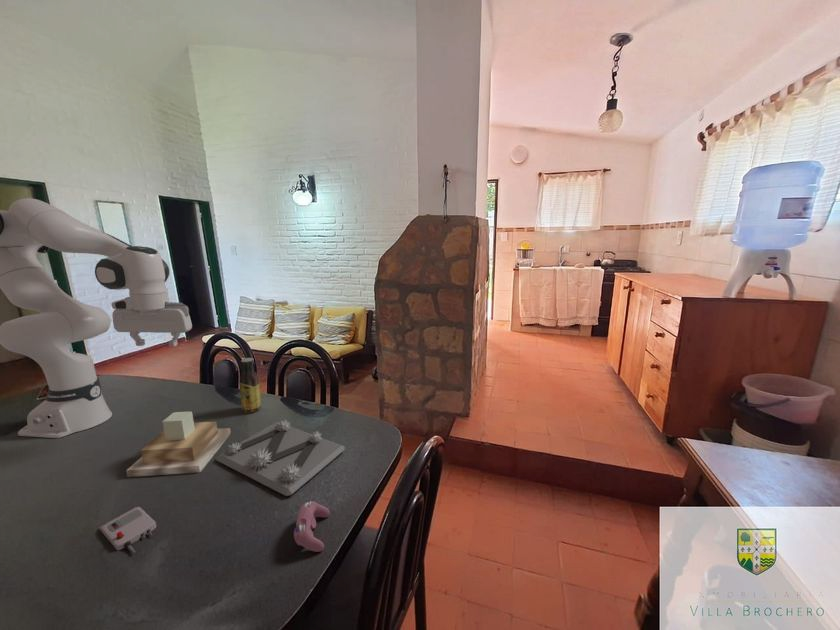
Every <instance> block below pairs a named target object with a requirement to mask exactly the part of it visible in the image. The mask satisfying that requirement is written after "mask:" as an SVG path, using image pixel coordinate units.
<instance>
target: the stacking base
mask: <svg viewBox="0 0 840 630" xmlns="http://www.w3.org/2000/svg"><path fill="white" fill-rule="evenodd" d="M217 424H218V423H217V421H202V422H201V421H200V422H194V427H195V430H194V431H193V432H192V433H191V434H190V435H189V436H188V437H187V438H186V439H185V440H169V441H166V438H165V433H164V430H163V431H161V432H160V433H159V434H158V435H157V436H155V438H153V439H152V440H151V441H150V442H149V443H148V444H146V446H144V447H143V448H141V449H140V453H141V457H139V459H137V460H136V461H135V462H134V463H133V464H132V465H131V466H130V467H128V468H127V469H126V471H125V472H126V476H127V478H131V477H133V478H134V477H147V476H149V477H150V476H163V475H177V474H178V475H180V474H194V473H201V472H202V471H203V470H204V468H205V467H206V466H207V465H208V463H209V462H210V461H211V459H212V458H213V457H214V455H215V454H216V453H217V452H218V450H219V449H220V448H221V447H222V445H223V444H224V443H225V442H226V440H227V439H228V438H229V436H230V435H231V428H230V427H229V428H228V427H226V428H225V427H223V428H218V425H217Z"/></svg>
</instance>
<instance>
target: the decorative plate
mask: <svg viewBox="0 0 840 630" xmlns="http://www.w3.org/2000/svg"><path fill="white" fill-rule="evenodd" d="M288 420H289V419H288ZM288 420H286V418H284V421H283V420H279V421H276V422H273V423H272V424H270V425H269V426H267V427H265V428H264V429H262V430H259V431H258V432H256V433H255V434H253V435H251V436H249V437H247V438H246V439H244V440H242V441H241V442H237V441H236V442H235V441H233V442H230V443H231V444H228V445H227V447H226V449H225V450H224V452H221V453H219V455H218V456H217V458H216V461H217V462H218V463H220V464H223V465H224V466H227V467H228V468H231V469H232V470H234V471H236V472H237V473H238V472H239V473H241V474H242V475H244V476H246V477H248V478H250V479H252V480H254V481H256V482H258V483H259V484H262V485H264V486H265V487H267V488H270V489H271V490H273V491H276V492H277V493H279V494H281V495H283V496H285V497H291V496H292V495H293V494H294V493H295V492H297V491H298V490H299V489H301V487H303V486H304V485H305V484H306V483H307V482H308V481H310V480H311V479H313V478H314V476H315V475H317V474H318V473H319V472H321V471H322V470H323V469H324V468H325V467H326V466H328V465H329V464H330V463H331V462H333V460H335V459H336V458H338V456H339V455H340V454H342V453H343V452H344V451H345V450H346V447H345V446H344V445H342V444H339V443H336V442H335V441H331V440H328V439H326V438H323V436H322V435H321V432H320V431H318V430H317V431H316V432H315V431H312V433H309V432H307V431H304V430H302V429H299V428H297V427H293V426H291V421H290V422H288Z"/></svg>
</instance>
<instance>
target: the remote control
mask: <svg viewBox="0 0 840 630" xmlns="http://www.w3.org/2000/svg"><path fill="white" fill-rule="evenodd" d="M155 529H157V522H156V521H155V520H154V519H153V518H152V517H151V516H150V515H149V514H148V513H146V511H145V510H144V509H142V507H141V506H135V507H133V508H131V509H130V510H128V511H126V512H125V513H122V514H120V515H119V516H118V517H117V516H116V517H115V518H113V519H112V520H110V521H108V522H106V523H105V524H103V525H101V526H99V530H100V532H101V533H102V534H103V535H104V536H105V538H106V539H107V540H108V541H109V542H110V543H111V545H112V546H113V547H114V548H115V550H117V551H121V550H123V549H128V550H129V551H131V552H132V553H133V554H136V551H135V549H134V547H133V546H132V545H133V544H134V543H136V542H137V541H139V540H140V538H141V539H142V538H143V539H145V538H146V536H147V535H148V534H149V536H153V533H152V532H153V531H154V530H155ZM135 541H136V542H135ZM133 542H134V543H133Z"/></svg>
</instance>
